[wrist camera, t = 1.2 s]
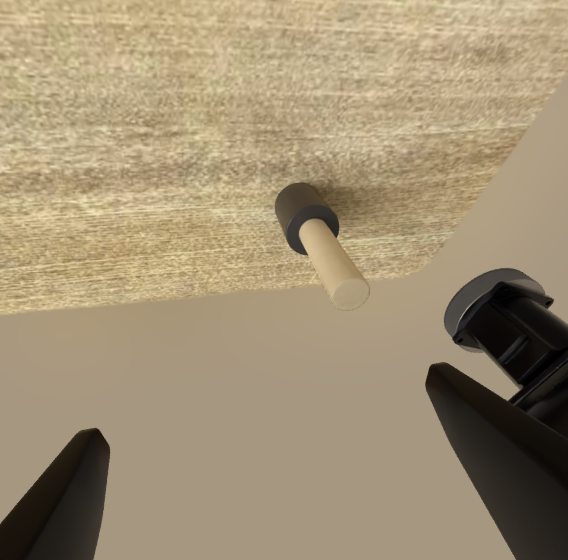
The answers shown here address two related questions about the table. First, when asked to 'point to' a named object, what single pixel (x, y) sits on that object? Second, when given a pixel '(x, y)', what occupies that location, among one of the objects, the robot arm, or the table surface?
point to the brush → (320, 244)
